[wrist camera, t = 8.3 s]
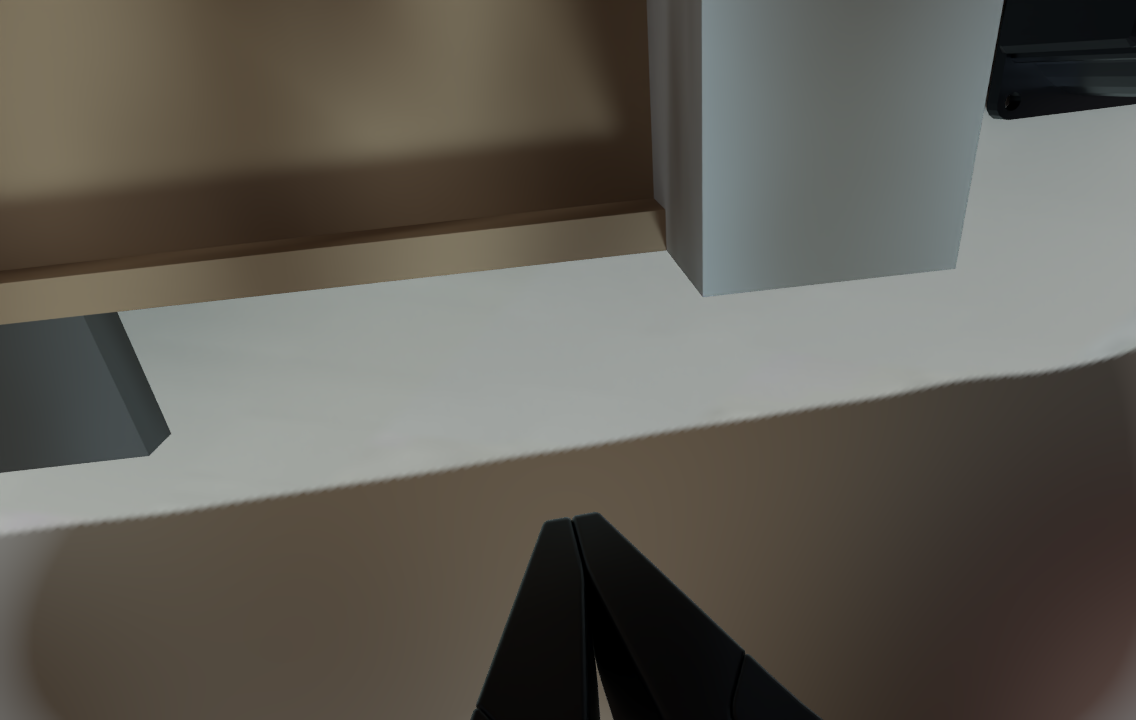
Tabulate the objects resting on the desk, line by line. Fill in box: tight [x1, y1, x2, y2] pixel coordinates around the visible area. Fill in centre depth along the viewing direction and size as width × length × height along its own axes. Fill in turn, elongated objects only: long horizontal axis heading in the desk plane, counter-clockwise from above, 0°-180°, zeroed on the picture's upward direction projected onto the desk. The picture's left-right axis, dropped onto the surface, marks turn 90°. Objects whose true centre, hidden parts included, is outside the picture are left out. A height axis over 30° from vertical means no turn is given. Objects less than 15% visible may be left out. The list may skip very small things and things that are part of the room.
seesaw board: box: [0, 0, 1004, 473], centre depth 11 cm, size 22×12×5 cm, turn 95°
